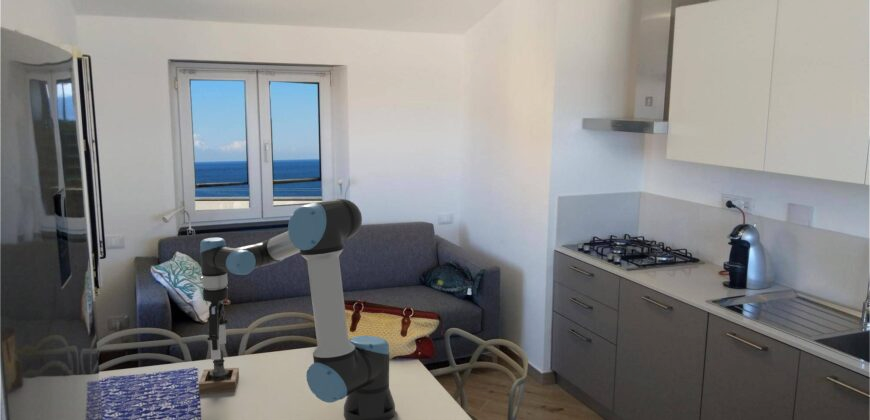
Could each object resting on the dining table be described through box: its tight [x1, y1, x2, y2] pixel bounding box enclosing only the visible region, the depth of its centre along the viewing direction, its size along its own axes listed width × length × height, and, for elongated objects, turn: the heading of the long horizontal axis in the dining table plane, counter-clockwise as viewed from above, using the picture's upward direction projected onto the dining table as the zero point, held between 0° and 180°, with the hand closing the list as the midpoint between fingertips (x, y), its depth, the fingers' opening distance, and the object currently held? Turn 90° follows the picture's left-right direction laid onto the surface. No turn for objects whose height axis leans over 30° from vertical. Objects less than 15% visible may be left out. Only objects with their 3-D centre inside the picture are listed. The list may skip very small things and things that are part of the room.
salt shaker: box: [210, 349, 229, 381], centre depth 212 cm, size 6×6×12 cm
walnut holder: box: [198, 367, 240, 395], centre depth 213 cm, size 11×11×3 cm
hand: (218, 351), depth 211 cm, fingers open, 13 cm apart
